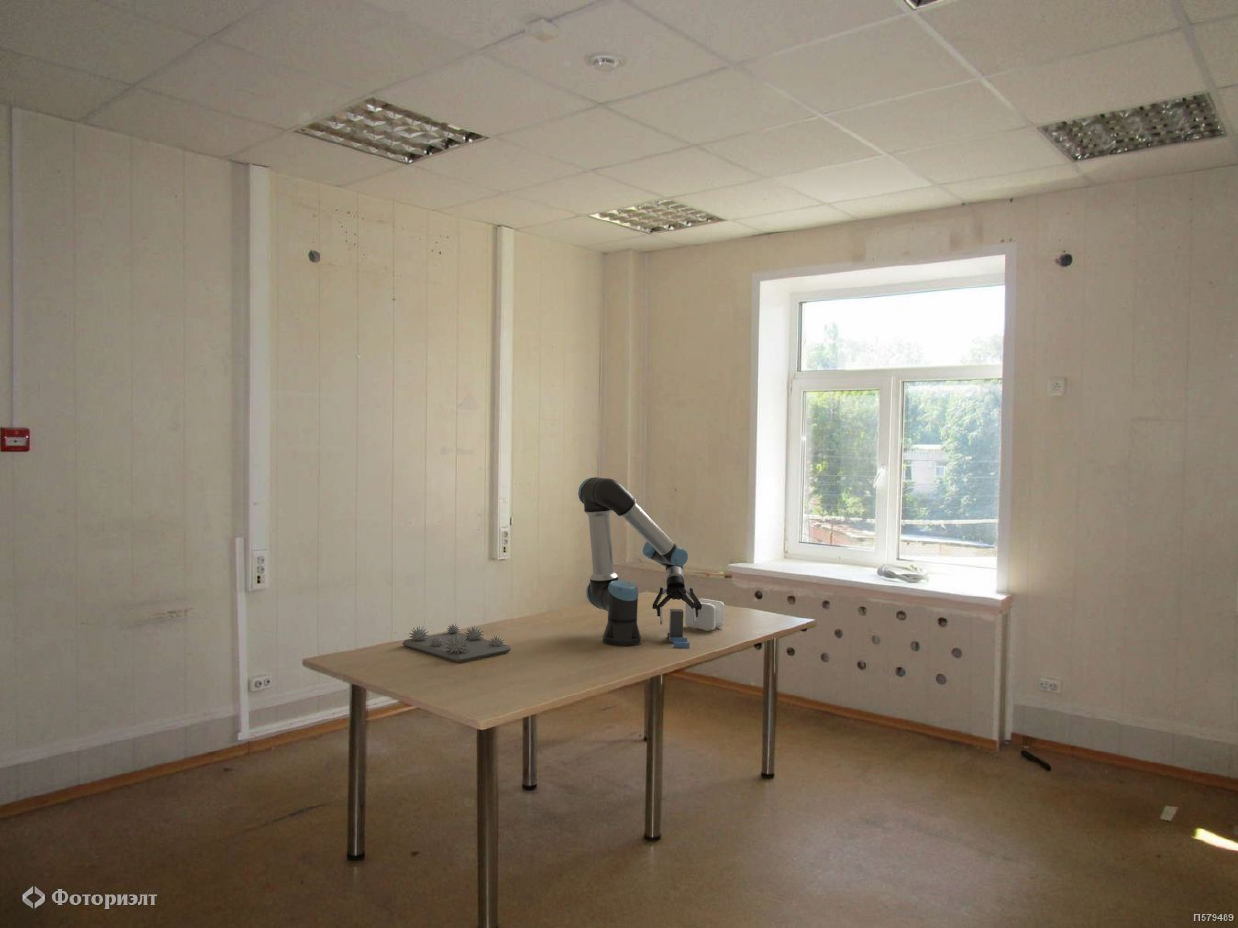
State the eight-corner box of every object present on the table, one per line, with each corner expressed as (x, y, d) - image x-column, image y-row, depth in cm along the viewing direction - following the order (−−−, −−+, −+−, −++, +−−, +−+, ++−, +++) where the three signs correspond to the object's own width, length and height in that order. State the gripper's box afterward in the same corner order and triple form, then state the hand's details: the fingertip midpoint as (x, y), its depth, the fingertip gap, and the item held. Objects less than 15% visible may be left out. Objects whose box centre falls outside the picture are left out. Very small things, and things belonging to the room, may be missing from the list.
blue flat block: (674, 647, 320) (674, 642, 320) (671, 642, 329) (672, 637, 329) (689, 647, 320) (689, 642, 320) (686, 642, 329) (687, 637, 329)
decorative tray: (512, 654, 304) (513, 627, 304) (455, 666, 285) (456, 637, 285) (455, 637, 328) (455, 612, 328) (398, 647, 309) (399, 621, 309)
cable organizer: (726, 629, 357) (727, 602, 357) (712, 632, 349) (713, 605, 349) (697, 623, 367) (698, 597, 367) (683, 627, 359) (684, 600, 359)
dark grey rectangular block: (670, 641, 331) (671, 611, 331) (669, 638, 336) (669, 608, 336) (682, 641, 331) (683, 611, 331) (681, 638, 336) (682, 609, 336)
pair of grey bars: (669, 642, 329) (669, 637, 329) (667, 637, 338) (667, 632, 338) (684, 642, 329) (684, 637, 329) (682, 637, 338) (682, 632, 338)
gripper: (703, 585, 352) (707, 628, 337) (645, 584, 351) (646, 627, 336) (705, 575, 346) (710, 618, 332) (646, 573, 345) (648, 617, 331)
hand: (678, 623), depth 334 cm, fingers open, 13 cm apart
